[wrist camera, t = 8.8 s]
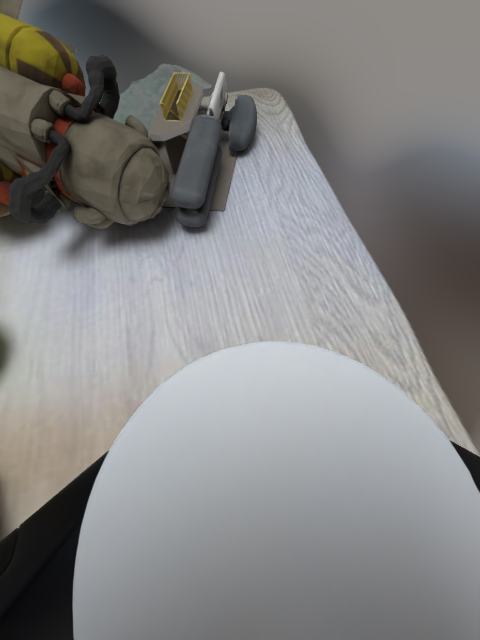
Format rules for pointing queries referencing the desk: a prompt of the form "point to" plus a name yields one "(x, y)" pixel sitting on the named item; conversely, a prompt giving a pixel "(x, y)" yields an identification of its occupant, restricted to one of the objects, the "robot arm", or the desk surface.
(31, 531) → the robot arm
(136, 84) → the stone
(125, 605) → the pill bottle
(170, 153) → the platform
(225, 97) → the can opener
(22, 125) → the multicoloured piece
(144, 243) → the desk surface
